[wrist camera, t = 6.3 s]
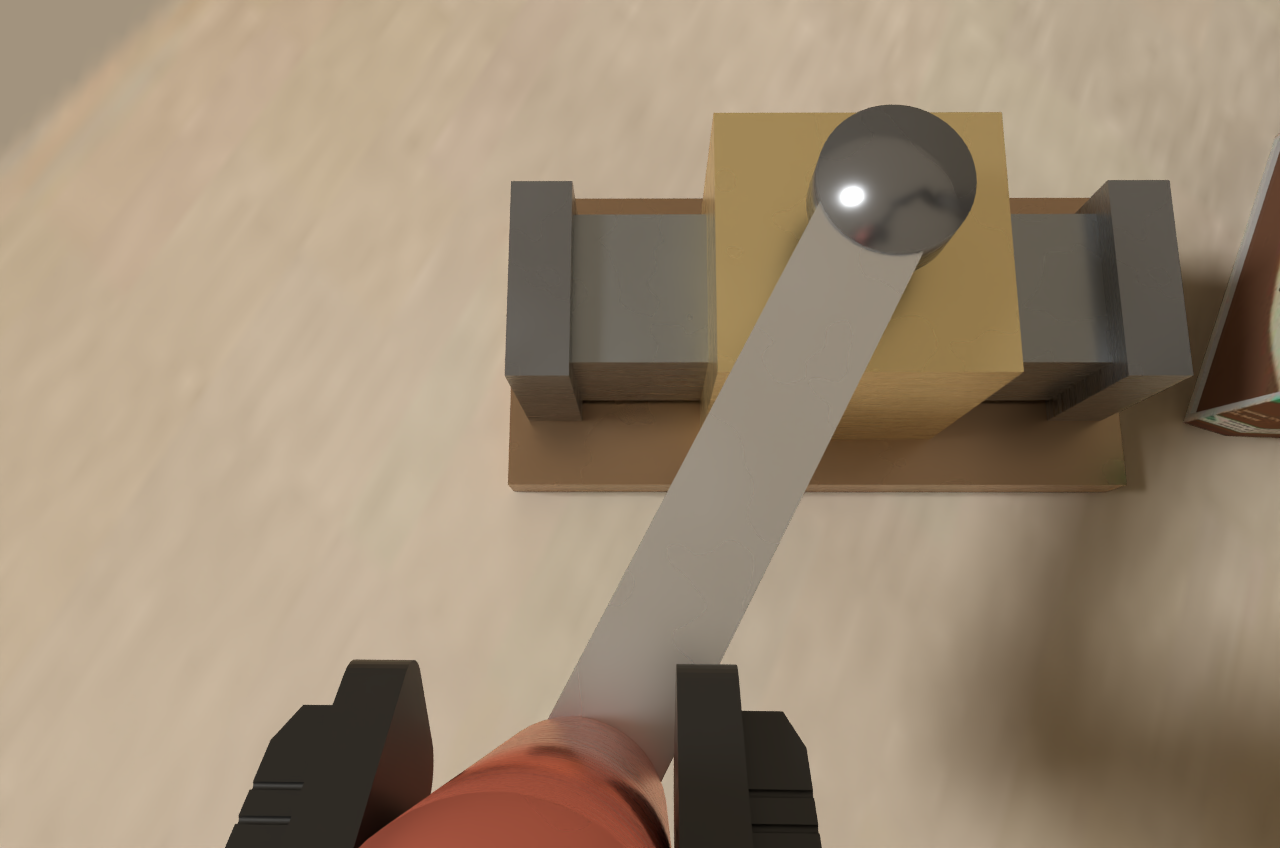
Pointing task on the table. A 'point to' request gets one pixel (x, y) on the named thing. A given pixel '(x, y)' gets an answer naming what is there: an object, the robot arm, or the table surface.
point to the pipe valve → (905, 356)
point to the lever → (719, 506)
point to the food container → (1247, 330)
